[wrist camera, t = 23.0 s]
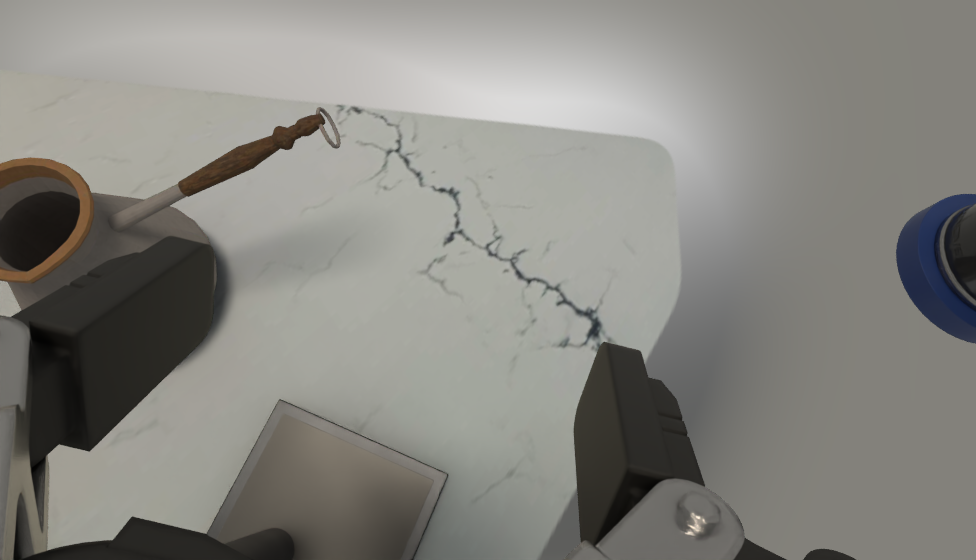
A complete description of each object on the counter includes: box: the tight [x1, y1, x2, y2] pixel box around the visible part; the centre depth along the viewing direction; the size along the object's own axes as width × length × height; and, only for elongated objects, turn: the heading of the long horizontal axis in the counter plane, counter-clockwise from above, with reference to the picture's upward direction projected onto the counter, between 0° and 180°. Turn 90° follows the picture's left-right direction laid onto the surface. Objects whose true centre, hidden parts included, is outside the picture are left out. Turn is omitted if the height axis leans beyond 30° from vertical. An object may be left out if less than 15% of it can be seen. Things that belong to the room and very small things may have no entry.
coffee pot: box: [0, 107, 341, 310], centre depth 34 cm, size 21×12×15 cm, turn 110°
